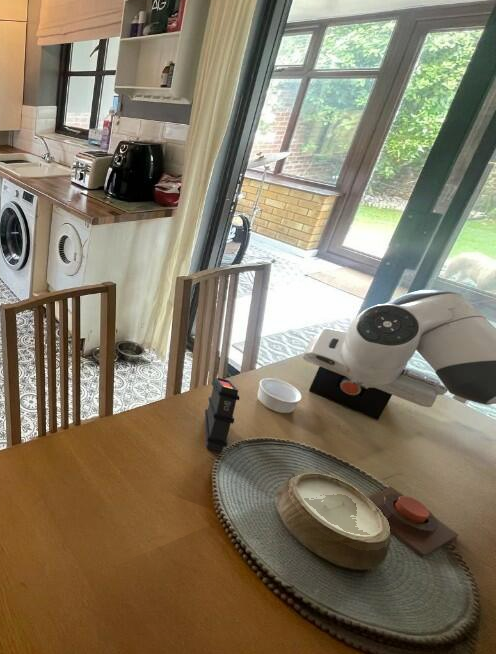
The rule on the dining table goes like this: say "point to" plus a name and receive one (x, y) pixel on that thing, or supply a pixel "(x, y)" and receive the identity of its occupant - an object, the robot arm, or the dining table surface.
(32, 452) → the dining table surface
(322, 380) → the console
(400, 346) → the robot arm
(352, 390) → the push knob
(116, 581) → the dining table surface
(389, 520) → the button block
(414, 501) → the button
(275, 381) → the ramekin
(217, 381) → the black battery pack
